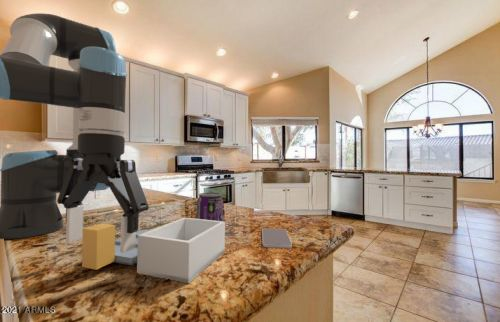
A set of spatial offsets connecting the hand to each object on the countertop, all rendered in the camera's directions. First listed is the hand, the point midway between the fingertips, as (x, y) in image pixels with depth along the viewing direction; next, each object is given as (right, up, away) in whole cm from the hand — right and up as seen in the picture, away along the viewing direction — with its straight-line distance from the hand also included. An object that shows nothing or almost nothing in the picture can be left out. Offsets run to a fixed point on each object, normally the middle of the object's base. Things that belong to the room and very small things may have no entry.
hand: (100, 245), depth 44 cm
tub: (+15, -5, +4) cm, 17 cm away
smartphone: (+36, -6, +20) cm, 42 cm away
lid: (+2, -5, +7) cm, 9 cm away
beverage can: (+17, -5, +20) cm, 27 cm away
